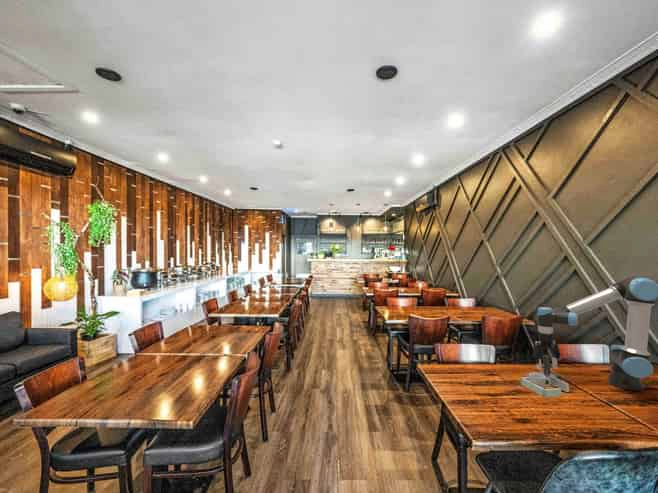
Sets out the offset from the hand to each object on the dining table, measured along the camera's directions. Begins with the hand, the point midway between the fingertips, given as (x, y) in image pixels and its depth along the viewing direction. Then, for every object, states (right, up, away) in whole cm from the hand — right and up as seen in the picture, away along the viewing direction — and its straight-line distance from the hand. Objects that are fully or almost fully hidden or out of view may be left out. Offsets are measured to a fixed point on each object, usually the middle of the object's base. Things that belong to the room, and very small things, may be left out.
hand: (546, 368), depth 183 cm
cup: (-13, -7, -12) cm, 19 cm away
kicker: (+1, -7, -6) cm, 9 cm away
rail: (-3, -7, -1) cm, 8 cm away
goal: (-14, -7, -13) cm, 20 cm away
